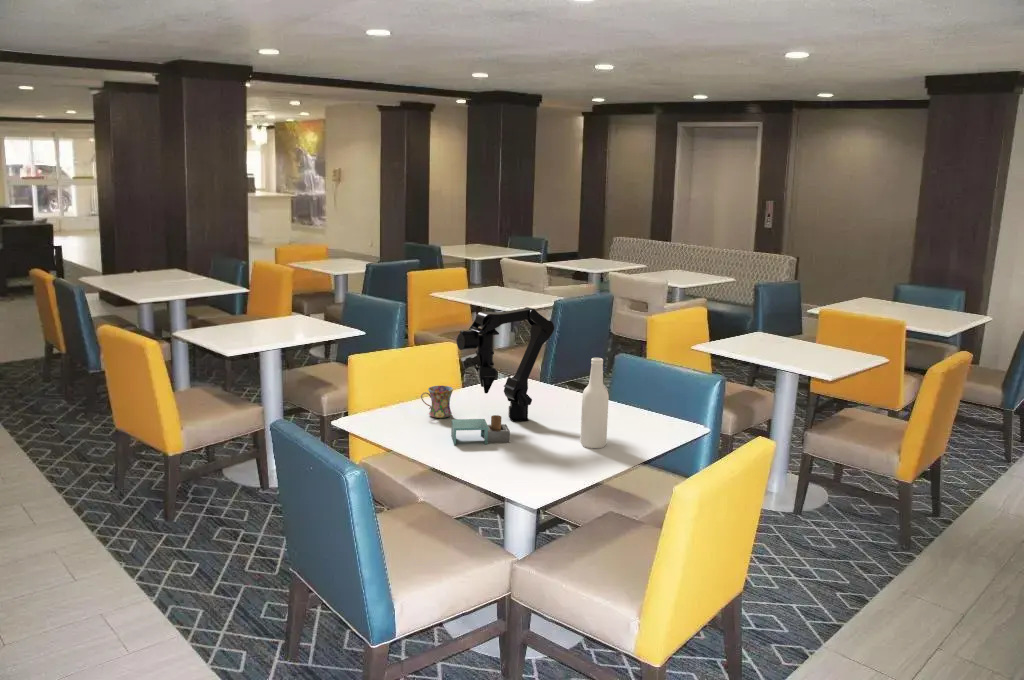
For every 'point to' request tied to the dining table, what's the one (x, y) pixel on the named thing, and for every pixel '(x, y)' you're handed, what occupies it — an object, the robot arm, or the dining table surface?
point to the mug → (439, 401)
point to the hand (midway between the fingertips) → (484, 389)
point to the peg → (495, 422)
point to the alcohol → (594, 408)
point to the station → (486, 431)
